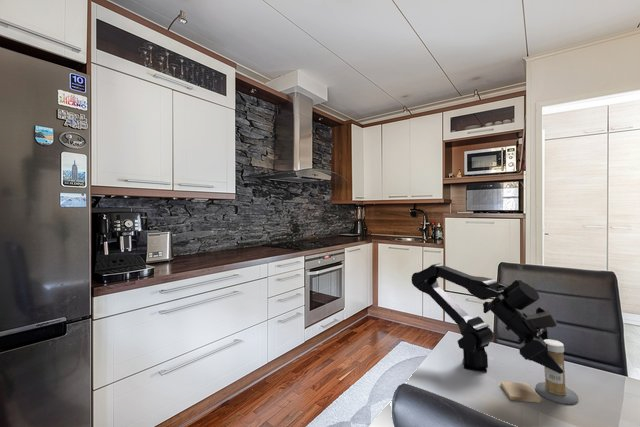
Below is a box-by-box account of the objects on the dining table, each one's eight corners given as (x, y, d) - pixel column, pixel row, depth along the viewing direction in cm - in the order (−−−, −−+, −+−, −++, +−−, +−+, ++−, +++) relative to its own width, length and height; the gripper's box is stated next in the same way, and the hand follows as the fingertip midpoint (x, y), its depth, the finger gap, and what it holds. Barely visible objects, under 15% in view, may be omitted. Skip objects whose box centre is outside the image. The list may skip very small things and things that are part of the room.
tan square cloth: (510, 399, 77) (510, 396, 77) (500, 384, 84) (500, 381, 84) (540, 402, 76) (540, 398, 76) (528, 387, 83) (527, 383, 83)
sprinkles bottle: (568, 392, 79) (566, 342, 79) (562, 398, 76) (560, 347, 76) (548, 384, 82) (546, 337, 83) (542, 390, 80) (539, 341, 80)
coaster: (541, 400, 77) (541, 397, 77) (531, 381, 85) (531, 379, 85) (584, 407, 73) (584, 405, 73) (570, 387, 82) (570, 385, 82)
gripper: (532, 309, 75) (593, 364, 68) (535, 292, 89) (585, 336, 82) (498, 333, 79) (552, 387, 72) (506, 313, 94) (551, 357, 87)
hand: (561, 365), depth 78 cm, fingers open, 9 cm apart
